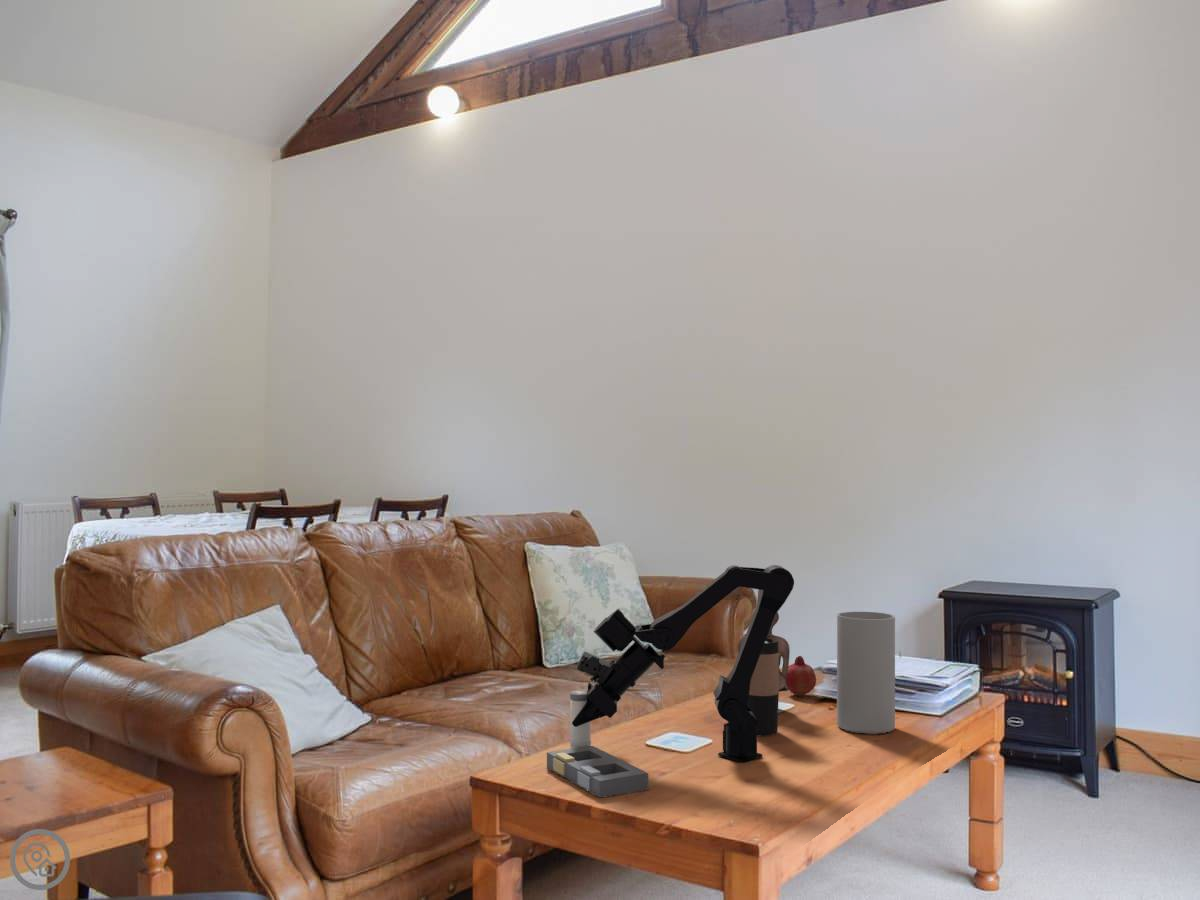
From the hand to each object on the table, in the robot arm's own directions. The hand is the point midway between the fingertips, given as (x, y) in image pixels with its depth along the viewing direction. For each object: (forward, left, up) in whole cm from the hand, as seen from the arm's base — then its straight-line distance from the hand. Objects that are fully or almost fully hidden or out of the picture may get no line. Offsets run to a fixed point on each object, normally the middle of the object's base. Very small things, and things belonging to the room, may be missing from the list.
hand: (573, 722), depth 215 cm
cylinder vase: (-22, -65, -7) cm, 69 cm away
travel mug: (-10, -44, -7) cm, 45 cm away
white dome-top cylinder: (-1, -1, -7) cm, 7 cm away
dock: (-15, +6, -7) cm, 18 cm away
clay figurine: (+4, -60, -7) cm, 60 cm away
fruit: (+9, -79, -7) cm, 79 cm away
